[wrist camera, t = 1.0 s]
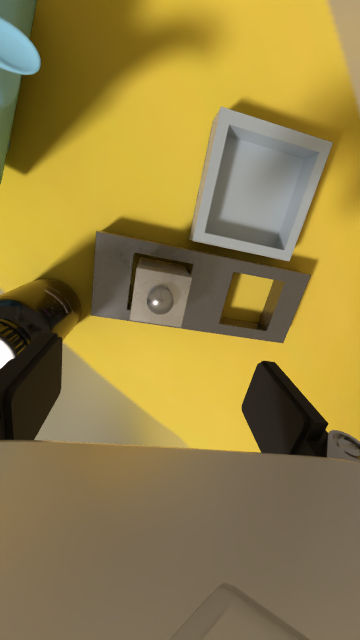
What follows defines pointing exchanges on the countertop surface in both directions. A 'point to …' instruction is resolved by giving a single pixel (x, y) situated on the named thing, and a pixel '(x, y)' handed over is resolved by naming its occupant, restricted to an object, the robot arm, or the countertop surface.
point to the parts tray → (256, 185)
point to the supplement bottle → (35, 314)
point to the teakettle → (14, 62)
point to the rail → (195, 287)
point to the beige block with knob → (160, 292)
